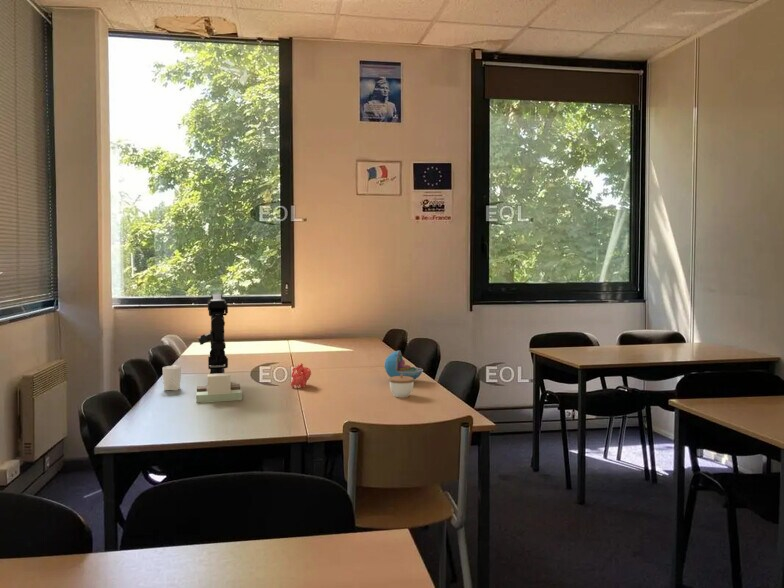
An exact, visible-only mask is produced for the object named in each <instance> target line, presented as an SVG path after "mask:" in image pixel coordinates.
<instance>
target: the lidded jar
mask: <svg viewBox="0 0 784 588" xmlns="http://www.w3.org/2000/svg"><path fill="white" fill-rule="evenodd" d="M388 381H389V390H390V392H391V394H393V396H394V397H395V398H402V399H403V398H404V399H405V398H408V397H409V395H410V394H412V392H413V389H414V386H415V384H414V381H415V380H414V378H412V377H409V376H403V374H401V375H400V376H394V377H390V376H389V379H388Z"/></svg>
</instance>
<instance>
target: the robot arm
mask: <svg viewBox="0 0 784 588" xmlns="http://www.w3.org/2000/svg"><path fill="white" fill-rule="evenodd" d="M207 311H208V316H209V317H210V331H209V333H206V334H201V335H200V336H198V337H197V340H198V342H199V345H204V344H206V343H208V342H210V351H209V356H208V358H207V361H208V365H207V366H208V367H207V368H208V370H210V371H209V374H219V373H225V369H227V368H229V358H228V357H227V355H226V352H225V349H226V346H227V345H226V342H225V325H226V324H225V323H226V321H225V317H224V316H227V314H229V306H228V304H227V302H226V299H225V298H224V297H223V293H211V295H210V297H209V298H208V299H207Z"/></svg>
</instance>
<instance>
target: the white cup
mask: <svg viewBox="0 0 784 588" xmlns="http://www.w3.org/2000/svg"><path fill="white" fill-rule="evenodd" d="M162 380H163V390H164V389H165V390H164V391H166V390H175V391H178V389H179V390H180V389H181V380H182V366H180V365H167V366H163V367H162Z"/></svg>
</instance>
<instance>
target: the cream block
mask: <svg viewBox="0 0 784 588" xmlns="http://www.w3.org/2000/svg"><path fill="white" fill-rule="evenodd" d="M230 384H231V373H230V372H224V373H219V374H210V373H207V385H208V395H210V394H228V393H231V390H230Z"/></svg>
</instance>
